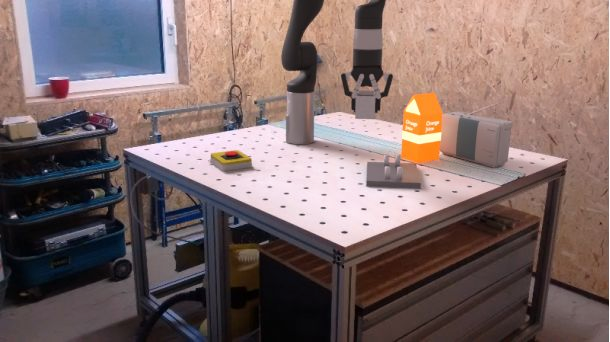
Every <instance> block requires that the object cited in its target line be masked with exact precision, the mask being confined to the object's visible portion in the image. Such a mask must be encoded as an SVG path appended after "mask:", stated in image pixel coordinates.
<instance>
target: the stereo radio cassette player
mask: <svg viewBox="0 0 610 342" xmlns="http://www.w3.org/2000/svg"><path fill="white" fill-rule="evenodd" d="M510 100H512V98H511V97H509V98H507V99H505V100H501V101H499V102H496V103H493V104H490V105H488V106H485V107H482V108H480V109H477V110H475V111H472V112H470V113H469V112H463V111H453V112H447V113H446V112H445V113H443V115H442V128H441V141H440V153H441V154H443V155H446V156H450V157H453V158H459V159H461V160H465V161H470V162H473V163H476V164H480V165H484V166H488V167H491V168H493V169H495V168H497V167H500V166H502V165H505V164H506V163H507V162H508V160H509V153H510V143H511V138H512V137H511V134H512V128H513V126H514V124H513V121H512V120H511V121H510V120H505V119H500V118H496V117H495V118H494V117H489V116H486V115H485V116H484V115H479V114H476V113H479V112H481V111H484V110H486V109H488V108H489V109H490V108H492V107H494V106H497V105H499V104H501V103H504V102H506V101H510Z"/></svg>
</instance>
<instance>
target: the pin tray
mask: <svg viewBox="0 0 610 342" xmlns="http://www.w3.org/2000/svg"><path fill="white" fill-rule="evenodd" d="M383 155H384V156H383V161H367V162H366V178H365V179H366V181H365V182H366V183H365V184H366V185H365V187H372V188H373V187H378V188H399V189H421V188H422V181H421V177H420V173H419V170H418V169H419V168H418V167H417V166H418V165H417V163H415V162H401V159H402V158H401V154H395V159H394V162H391V161H390V155H389V154H383Z"/></svg>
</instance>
